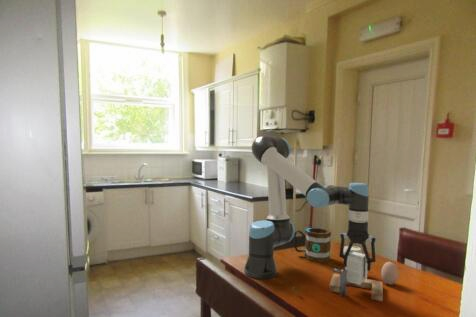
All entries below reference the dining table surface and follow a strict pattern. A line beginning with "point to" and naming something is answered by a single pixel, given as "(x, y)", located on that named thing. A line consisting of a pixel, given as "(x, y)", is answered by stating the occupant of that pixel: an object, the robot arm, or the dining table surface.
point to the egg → (389, 273)
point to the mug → (316, 244)
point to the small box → (356, 268)
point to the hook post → (342, 281)
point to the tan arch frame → (369, 284)
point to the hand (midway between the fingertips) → (356, 276)
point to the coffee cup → (352, 250)
